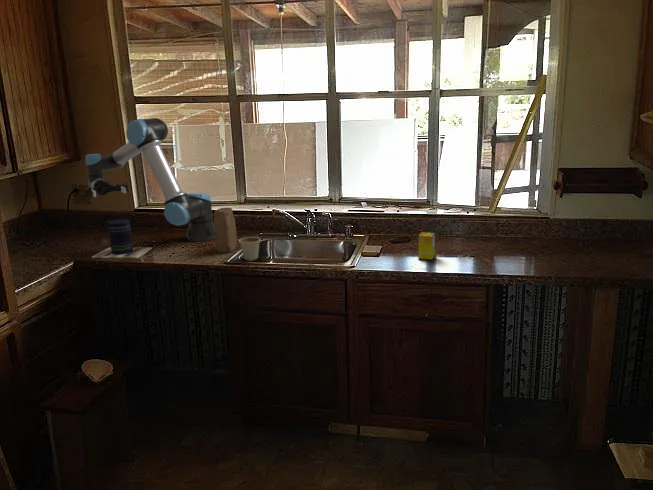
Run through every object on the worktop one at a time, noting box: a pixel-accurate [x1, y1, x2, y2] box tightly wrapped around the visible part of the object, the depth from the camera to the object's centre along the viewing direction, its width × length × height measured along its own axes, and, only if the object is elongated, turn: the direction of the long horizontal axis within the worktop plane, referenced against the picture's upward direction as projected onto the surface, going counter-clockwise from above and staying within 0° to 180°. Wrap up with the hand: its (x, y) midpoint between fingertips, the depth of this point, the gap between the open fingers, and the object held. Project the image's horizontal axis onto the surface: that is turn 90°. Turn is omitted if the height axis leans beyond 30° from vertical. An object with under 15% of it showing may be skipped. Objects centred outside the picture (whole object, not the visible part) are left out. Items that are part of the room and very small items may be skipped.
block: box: [213, 207, 238, 254], centre depth 268 cm, size 11×8×20 cm
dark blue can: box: [107, 218, 134, 255], centre depth 270 cm, size 10×10×15 cm
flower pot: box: [238, 236, 261, 261], centre depth 255 cm, size 9×9×9 cm
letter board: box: [91, 246, 153, 259], centre depth 271 cm, size 22×16×1 cm
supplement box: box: [417, 231, 436, 262], centre depth 246 cm, size 6×6×11 cm
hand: (110, 192), depth 272 cm, fingers open, 13 cm apart
